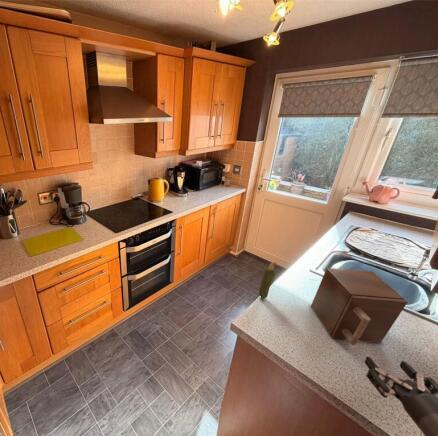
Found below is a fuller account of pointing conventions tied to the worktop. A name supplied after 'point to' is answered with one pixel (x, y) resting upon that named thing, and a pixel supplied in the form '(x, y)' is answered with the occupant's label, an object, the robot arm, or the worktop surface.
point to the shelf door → (367, 318)
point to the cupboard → (346, 293)
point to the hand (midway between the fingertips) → (384, 361)
